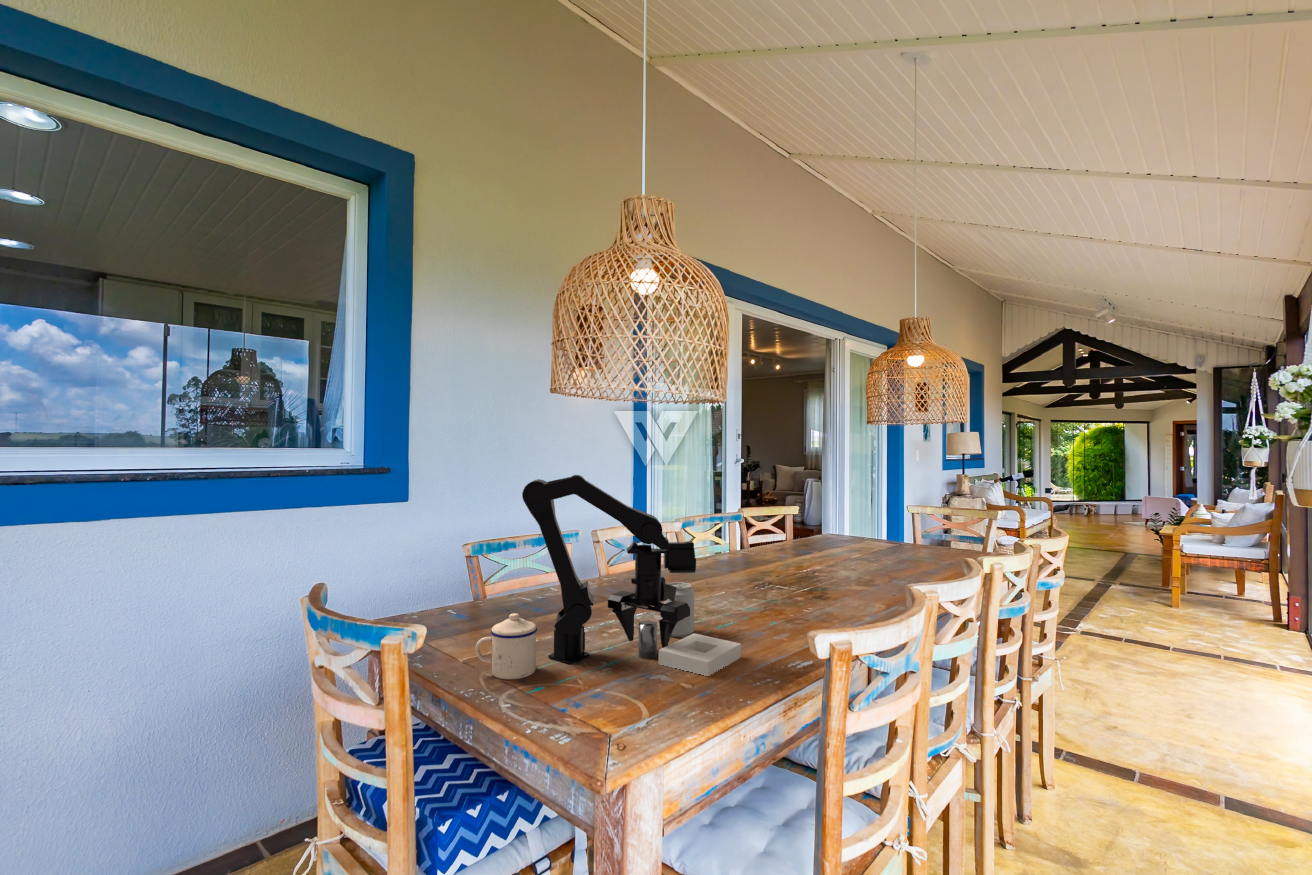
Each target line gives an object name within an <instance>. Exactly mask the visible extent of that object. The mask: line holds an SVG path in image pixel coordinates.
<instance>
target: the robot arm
mask: <svg viewBox="0 0 1312 875" xmlns="http://www.w3.org/2000/svg"><path fill="white" fill-rule="evenodd" d="M521 493H522V495H521V497H522V500H523V502H524V504H525V506H526V507H527V509H528V511H529V513H530V514H531V516H532V517H533V519H534V520H535V521H536V523H537V524H538V526H539V530H540V532H541V534H542V538H543V540H544V543H545V546H546V548H547V551H548V554H549V556H550V560H551V562H552V566H553V568H554V570H555V573H556V577H557V579H558V581H559V584H560V591H561V592H560V593H561V600H562V607H563V608H562V609H561V610H559V612H557V614H556V618H555V622H554V625H553V626H554V628H555V629H553V652H552V653H550V654H548V658H549V659H552V660H555V661H559V662H562V663H566V664H572V663H573V664H574V663H575V662H577V661H579V660H582V659H584V658H587V657H589V656H590V652H588V651H585V650H586V632H585V625H584V624H586V623H587V622H588V621H590V619H591V617H592V613H593V606H594V599H595V596H594V595H593V594H592V592H591V590H590V586H589V581H587V580H586V581H584V582H582V581H581V580H580V578H579V577H578V575H577V573H576V570H575V568H574V564H573V561H572V558H571V555H570V553H569V551H568V548H567V545H566V542H565V539H564V535H563V534H562V533H563V532H562V531H561V527H560V525H559V522H558V519H557V516H556V508H555V506H556V505H555V501H554V500H557V499H561V498H564V497H565V498H566V497H568V496H572V495H576V496H577V497H579V498H581V499H582V500H584V501H585V502H587V503H589V505H592V506H593V507H595V508H597V509H598V510H600V511H602V512H603V513H605V514H607V515H608V516H609V517H611V518H613V519H615V520H616V521H618V522H620V524H621V525H622V526H623V527H624V528H626V530H628V531H629V533H631V534H632V535H633V536H634V537H635V538H636V539H638V540H639V541H640V542H641V543H643V544H638V543H637V542H636V541H635V540H633V541H632V543H631V544H629V546H628V547H627V548H626V552H627V554H631V555H634V577H632V578H631V581H630V582H631V584H633V585H634V592H630V591H626V590H621V591H619V592H615V593H611V594H610V595H609V596H608V598H607V608H608V609H612V610H611V611H612V613H613V614H614V615H615V616H616V618H617V619H618V621H619V624H620V625H621V627H622V628H623V630H624V633H625V635H626V637H627V639H628V641H629V642H633V641H634V636H635V614H636V611H637V610H638V609H642V610H648V611H653V612H657V613H660V614H659V615H660V617H661V619H659V620H658V623H659V624H658V625H659V635H660V643H661V644H660V645H661V649H662V648H664V647H666V646H668V645H669V643H670V640H671V637H672V636H671V635H672V632H673V630H674V627H675V625H676V624H677V622H678V621H681V620H683V619H684V618H686V617H688V616H690V606H689V605H688V603H685V602H680V601H674V600H675V595H676V590H677V587H675V586H671V585H668V584H669V583H666V579H665V576H662V554H663V568H664V569H665V570H666V569H667V571H668V573H669V574H694V573H696V571H697V570H696V569H697V558H696V552H695V543H694V542H693V541H691V540H688V541H683V542H679V541H678V542H677V541H676V542H674V541H672V542H669V541H670V540H669V539H668V537H667V536H664V534H663V526H662V523H661V522H660V521H659V519H658V518H657V517H656V516H654V515H653V514H650V513H647V512H645V511H642V510H640V509H637V508H634V507H631V506H629V505H627V504H625V503H623V502H622V501H621V500H619V499H617V498H616V497H613V496H612V495H611V494H609V493H607V492H605V491H604V490H602V489H601V488H599V487H598V486H596V485H594V484H592V483H591V482H589V481H588V480H587V479H585V478H584V477H583V476H582V475H580V474H574V475H571V476H569V477H564V478H558V479H553V480H550V481H546V480H544V479H534V480H532V481H531V482H528V483H527V484H526V485H525V486H524V488H523V490H522V492H521ZM652 544H653V545H654V546H656V547H657V548H654V547H653V548H652ZM667 599H670V600H671V602H669V603H666V604H664V601H666V600H667Z"/></svg>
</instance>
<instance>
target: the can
mask: <svg viewBox="0 0 1312 875" xmlns="http://www.w3.org/2000/svg"><path fill="white" fill-rule="evenodd" d="M667 584H668V585H671V586H675V587H677V590H676V595H675V600H674V601H680V602H685V603H688V605H689V606H690V616H688V617H686V618H684V619H683V620H681V621H678V622H677V624H676V625H675V627H674V630H673V632H672V635H671V637H672V638H685V637H687V636H689V635H691V634H694V633H695V590H694V589H693V588H692V587H693V585H692V584H691V583H688V582H682V581H678V582H677V581H676V582H674V581H673V582H669V583H667ZM669 602H671V600H670V599H667V600H666V601H663V604H666V603H669Z"/></svg>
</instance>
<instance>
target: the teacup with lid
mask: <svg viewBox="0 0 1312 875" xmlns="http://www.w3.org/2000/svg"><path fill="white" fill-rule="evenodd" d="M537 631H538V627H537V626H536V624H535V623H534V622H532V621H530V620H526V619H524V618H522V617H520V614H519V613H515V612H514V613H511V614H509V616H508V618H506V619H505V620H502V621H501V622H498V623H496V624H495V625H493V626H492V628H491V631H490V634H491V636H485V637H482V638H480V639H479V640H478V641H477V642H476V644H475V654H476V656H477V658H478V659H479V660H480V661H481V662H484V663H491V673H492V675H493V677H496V678H497V679H500V680H518V679H519V680H520V679H524V678H527V677H529V676H531V675H532V674H534V673H535V672H536V666H537V665H536V664H537V663H536V659H537V658H536V654H537V653H536V652H537V650H536V646H537V645H536V644H537V638H536V637H537ZM485 642H491V657H485V656H484V655H483V654H482V653H481V651H480V646H481V645H482V644H483V643H485Z"/></svg>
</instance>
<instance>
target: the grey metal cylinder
mask: <svg viewBox="0 0 1312 875" xmlns="http://www.w3.org/2000/svg"><path fill="white" fill-rule="evenodd" d="M657 656H658V622H656V621H653V620H642V621H639V622H638V657H639V658H640V659H647V660H648V659H649V660H650V659H654V658H656V657H657Z"/></svg>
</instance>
